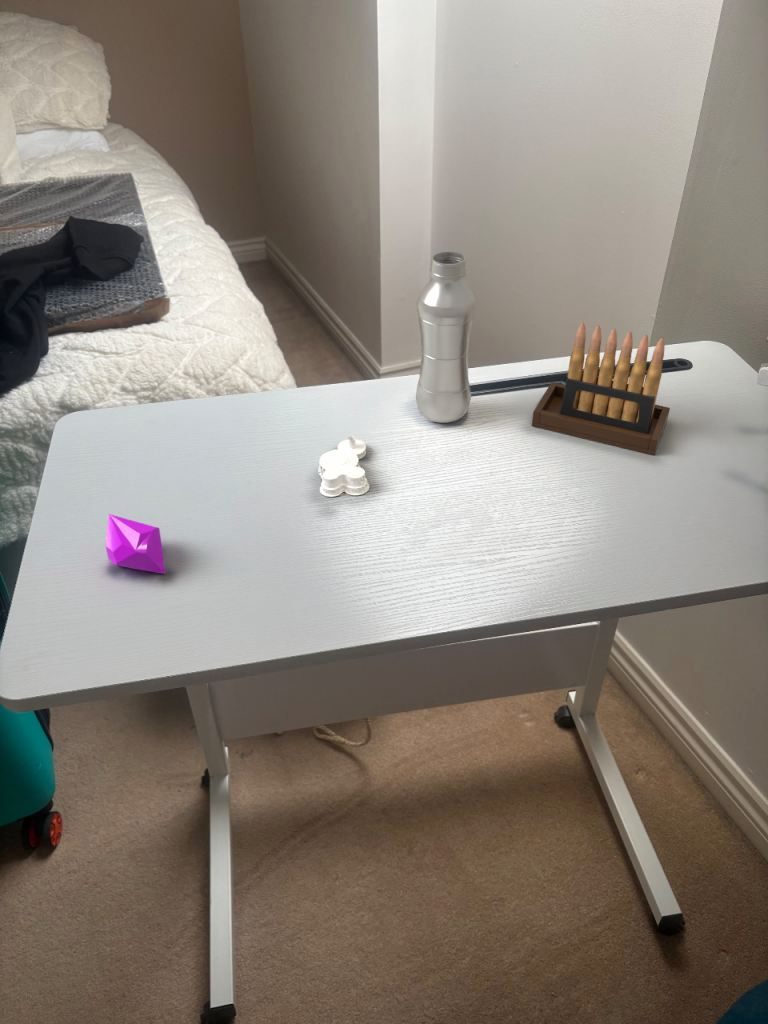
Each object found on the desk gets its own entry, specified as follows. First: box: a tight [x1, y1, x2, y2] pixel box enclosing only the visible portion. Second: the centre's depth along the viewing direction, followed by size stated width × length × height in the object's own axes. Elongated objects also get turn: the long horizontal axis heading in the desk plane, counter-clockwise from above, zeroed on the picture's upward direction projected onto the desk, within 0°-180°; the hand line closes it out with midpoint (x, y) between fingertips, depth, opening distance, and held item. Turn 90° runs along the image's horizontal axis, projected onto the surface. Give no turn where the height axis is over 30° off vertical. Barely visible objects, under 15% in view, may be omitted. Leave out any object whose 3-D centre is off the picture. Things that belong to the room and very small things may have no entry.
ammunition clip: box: [559, 322, 665, 434], centre depth 96 cm, size 11×2×12 cm, turn 65°
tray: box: [531, 381, 671, 456], centre depth 99 cm, size 15×8×2 cm, turn 65°
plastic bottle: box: [415, 251, 477, 424], centre depth 96 cm, size 6×7×20 cm
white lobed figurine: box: [317, 435, 370, 509], centre depth 92 cm, size 9×9×2 cm
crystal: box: [105, 513, 166, 575], centre depth 81 cm, size 5×5×5 cm
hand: (763, 352), depth 87 cm, fingers open, 8 cm apart
